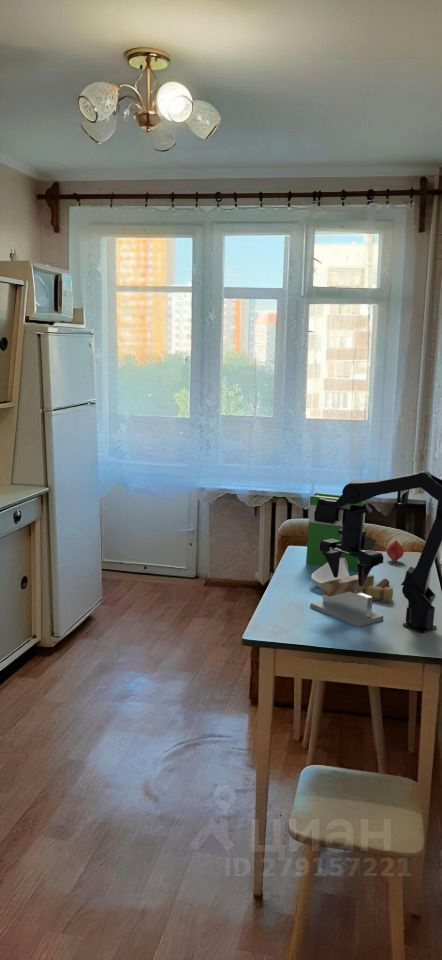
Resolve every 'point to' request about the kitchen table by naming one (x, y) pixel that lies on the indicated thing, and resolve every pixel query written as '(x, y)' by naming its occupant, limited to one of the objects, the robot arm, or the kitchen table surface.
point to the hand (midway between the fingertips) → (348, 581)
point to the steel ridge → (352, 603)
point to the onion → (395, 550)
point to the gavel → (379, 591)
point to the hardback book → (326, 534)
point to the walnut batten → (345, 585)
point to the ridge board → (345, 614)
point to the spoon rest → (329, 573)
